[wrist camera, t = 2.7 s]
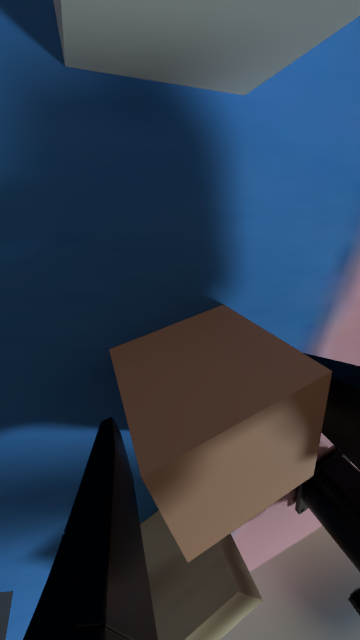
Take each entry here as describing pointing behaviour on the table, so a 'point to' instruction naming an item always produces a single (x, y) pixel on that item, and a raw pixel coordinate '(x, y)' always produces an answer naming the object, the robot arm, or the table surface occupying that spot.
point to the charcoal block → (4, 612)
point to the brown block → (219, 421)
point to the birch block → (195, 585)
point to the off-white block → (196, 38)
